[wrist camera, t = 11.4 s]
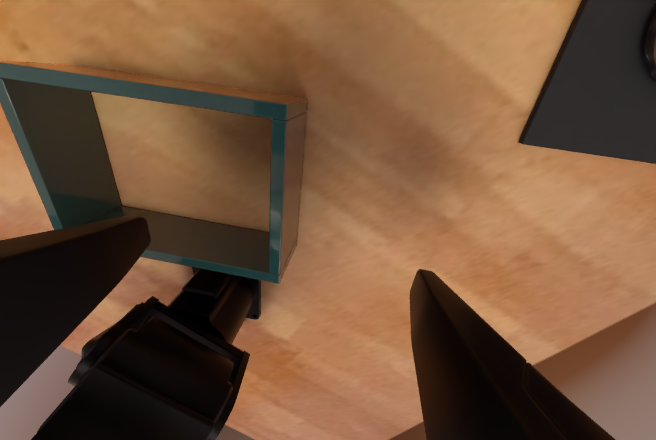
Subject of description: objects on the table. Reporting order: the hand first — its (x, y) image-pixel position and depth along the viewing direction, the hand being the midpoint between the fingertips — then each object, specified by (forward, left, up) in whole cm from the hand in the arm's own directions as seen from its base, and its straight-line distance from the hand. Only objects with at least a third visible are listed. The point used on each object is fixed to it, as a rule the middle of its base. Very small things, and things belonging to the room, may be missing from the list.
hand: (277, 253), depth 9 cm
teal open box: (-2, +10, -12) cm, 16 cm away
